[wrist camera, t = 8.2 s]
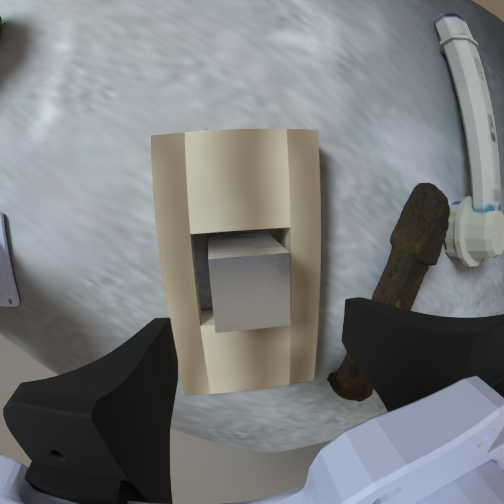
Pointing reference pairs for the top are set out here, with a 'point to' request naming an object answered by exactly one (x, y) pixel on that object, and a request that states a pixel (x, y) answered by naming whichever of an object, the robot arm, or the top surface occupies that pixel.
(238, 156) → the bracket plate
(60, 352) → the top surface
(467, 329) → the robot arm
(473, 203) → the white elongated piece
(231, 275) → the pale grey block
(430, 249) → the dark brown wood piece
